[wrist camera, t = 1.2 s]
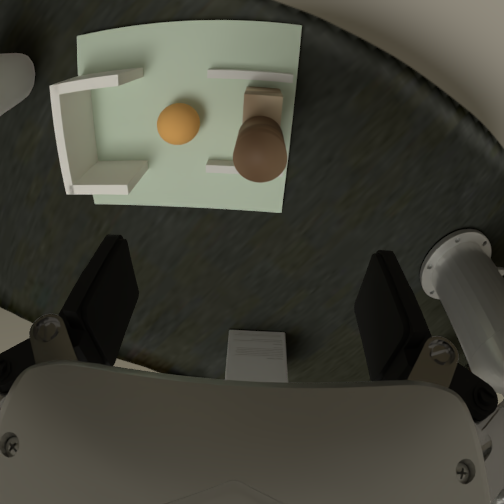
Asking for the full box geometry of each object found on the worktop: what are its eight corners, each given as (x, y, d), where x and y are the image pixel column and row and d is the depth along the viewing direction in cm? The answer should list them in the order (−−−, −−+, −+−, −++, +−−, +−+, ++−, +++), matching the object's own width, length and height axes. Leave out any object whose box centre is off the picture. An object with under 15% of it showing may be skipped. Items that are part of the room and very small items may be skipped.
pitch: (300, 26, 23) (311, 20, 18) (280, 208, 35) (284, 245, 30) (81, 35, 23) (43, 40, 17) (98, 199, 35) (72, 232, 30)
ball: (203, 99, 27) (195, 107, 24) (203, 138, 30) (195, 151, 26) (163, 99, 27) (150, 108, 24) (164, 137, 30) (152, 150, 26)
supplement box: (228, 359, 54) (221, 436, 42) (228, 327, 48) (220, 415, 37) (279, 362, 54) (281, 439, 42) (286, 331, 49) (291, 418, 37)
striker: (282, 89, 26) (293, 109, 18) (276, 157, 30) (281, 205, 22) (243, 86, 26) (235, 105, 18) (239, 154, 30) (231, 202, 22)
